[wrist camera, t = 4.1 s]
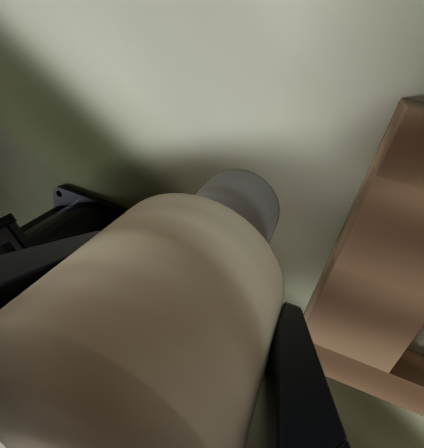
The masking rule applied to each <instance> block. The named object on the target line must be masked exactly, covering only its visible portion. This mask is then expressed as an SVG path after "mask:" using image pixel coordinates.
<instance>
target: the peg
mask: <svg viewBox="0 0 424 448" xmlns="http://www.w3.org/2000/svg"><path fill="white" fill-rule="evenodd" d="M279 212H280V209H279V202H278V199H277V196H276V194H275V192H274V190H273V189H272V187H271V186H270V185H269V184H268V182H266V181H265V180H264V179H263V178H262V177H260V176H259V175H257V174H255V173H253V172H250V171H247V170H243V169H228V170H224V171H221V172H219V173H217V174H216V175H214V176H213V177H212V178H210V179H209V180H208V181H207V182H206V183H205V184H204V185H203V186H202V187H201V188H200V189H199V190H198V191H197V192H196V193H195V194H194V195H192V194H185V193H167V194H159V195H156V196H152V197H149V198H147V199H145V200H142V201H140V202H139V203H137V204H136V205H134V206H133V207H132V208H130V209H129V210H128V211H126V212H125V213H124V214H123V215H121V216H120V217H119V218H117V219H116V220H115V221H113V222H112V223H111V224H110V225H108V226H107V227H106V228H104V229H103V230H102V231H101V232H99V233H98V234H97V235H95V236H94V237H93V238H92V239H90V240H89V241H88V242H86V243H85V244H84V245H83V246H81V247H80V248H79V249H77V250H76V251H75V252H74V253H72V254H71V255H70V256H68V257H67V258H66V259H65V260H63V261H62V262H61V263H59V264H58V265H57V266H56V267H54V268H53V269H52V270H50V271H49V272H48V273H47V274H45V275H44V276H43V277H41V278H40V279H39V280H38V281H36V282H35V283H34V284H32V285H31V286H30V287H29V288H27V289H26V290H25V291H23V292H22V293H21V294H20V295H18V296H17V297H16V298H14V299H13V300H12V301H10V302H9V303H8V304H7V305H5V306H4V307H3V308H1V309H0V442H1V443H2V444H3V445H4V446H5V447H6V448H245V444H246V440H247V437H248V433H249V429H250V425H251V421H252V418H253V414H254V410H255V406H256V403H257V399H258V395H259V391H260V388H261V384H262V380H263V376H264V373H265V369H266V365H267V361H268V357H269V354H270V350H271V346H272V342H273V339H274V335H275V331H276V327H277V324H278V320H279V316H280V312H281V309H282V305H283V299H284V281H283V277H282V272H281V269H280V266H279V263H278V260H277V258H276V256H275V254H274V253H273V251H272V249H271V247H270V246H269V242H270V239H271V237H272V234H273V232H274V229H275V227H276V225H277V222H278V219H279Z"/></svg>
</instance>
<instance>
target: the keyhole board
mask: <svg viewBox="0 0 424 448" xmlns="http://www.w3.org/2000/svg"><path fill="white" fill-rule="evenodd" d="M303 315H304V318H305V321H306V324H307V327H308V329H309V332H310V335H311V338H312V341H313V343H314V346H315V349H316V352H317V355H318V357H319V360H320V363H321V366H322V369H323V371H324V374H325V376H327V377H330V378H332V379H334V380H337V381H339V382H342V383H344V384H347V385H349V386H351V387H354V388H356V389H359V390H361V391H363V392H366V393H368V394H371V395H373V396H376V397H378V398H380V399H383V400H385V401H388V402H390V403H393V404H395V405H397V406H400V407H402V408H405V409H407V410H409V411H412V412H414V413H417V414H419V415H422V416H424V356H422V355H420V354H417V353H414V352H412V351H409V350H407V347H408V346H409V344H410V343H411V342H412V340H413V339H414V337H415V336H416V335H417V333H418V332H419V331H420V329H421V328H422V326H423V325H424V103H420V102H416V101H412V100H407V99H403V98H401V99H400V101H399V103H398V106H397V108H396V110H395V112H394V115H393V117H392V119H391V121H390V123H389V126H388V128H387V130H386V132H385V135H384V137H383V139H382V141H381V143H380V146H379V148H378V150H377V152H376V155H375V157H374V159H373V161H372V163H371V166H370V168H369V170H368V172H367V175H366V177H365V179H364V181H363V183H362V186H361V188H360V190H359V192H358V194H357V197H356V199H355V201H354V203H353V206H352V208H351V210H350V212H349V214H348V217H347V219H346V221H345V223H344V226H343V228H342V230H341V232H340V234H339V237H338V239H337V241H336V243H335V246H334V248H333V250H332V252H331V254H330V257H329V259H328V261H327V263H326V266H325V268H324V270H323V272H322V274H321V277H320V279H319V281H318V283H317V286H316V288H315V290H314V292H313V294H312V297H311V299H310V301H309V303H308V306H307V308H306V310H305V312H304V314H303Z"/></svg>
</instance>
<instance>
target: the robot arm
mask: <svg viewBox="0 0 424 448" xmlns="http://www.w3.org/2000/svg"><path fill="white" fill-rule="evenodd" d="M61 193H62V194H61ZM53 195H54V208H53V209H51V210H49V211H48V212H46V213H44V214H43V215H41V216H39V217H37V218H36V219H34V220H32V221H30V222H29V223H27V224H25V225H24V226H22V227H19V226H18V224H17V223H16V221H17V220H16V219H15V218H14V216H13V215H12V214H11V213H10V214H8V215H6V216H4V217H2V218H0V309H1V308H3V307H4V306H5V305H7V304H8V303H9V302H10V301H12V300H13V299H14V298H16V297H17V296H18V295H20V294H21V293H22V292H23V291H25V290H26V289H27V288H29V287H30V286H31V285H32V284H34V283H35V282H36V281H38V280H39V279H40V278H41V277H43V276H44V275H45V274H47V273H48V272H49V271H50V270H52V269H53V268H54V267H56V266H57V265H58V264H59V263H61V262H62V261H63V260H65V259H66V258H67V257H68V256H70V255H71V254H72V253H74V252H75V251H76V250H77V249H79V248H80V247H81V246H83V245H84V244H85V243H86V242H88V241H89V240H90V239H92V238H93V237H94V236H95V235H97V234H98V233H99V232H101V231H102V230H103V229H104V228H106V227H107V226H108V225H110V224H111V223H112V222H113V221H115V220H116V219H117V218H119V217H120V216H121V215H123V214H124V213H125V212H126V211H128V210H129V209H127V208H124V207H121V206H118V205H116V204H113V203H110V202H107V201H104V200H102V199H99V198H96V197H93V196H90V195H88V194H85V193H82V192H79V191H76V190H74V189H71V188H68V187H65V186H62V185H60V186H58V187H56V188H54V190H53ZM346 440H347V436H346V433H345V430H344V428H343V425H342V422H341V419H340V416H339V413H338V411H337V408H336V405H335V402H334V399H333V397H332V394H331V391H330V388H329V385H328V383H327V380H326V377H325V374H324V371H323V369H322V366H321V363H320V360H319V357H318V355H317V352H316V349H315V346H314V343H313V341H312V338H311V335H310V332H309V329H308V327H307V324H306V321H305V318H304V315H303V313H302V310H301V308H300V307H298V306H296V305H293V304H290V303H288V302H285V303H284V304H283V306H282V309H281V312H280V316H279V320H278V324H277V327H276V331H275V335H274V339H273V342H272V346H271V350H270V354H269V357H268V361H267V365H266V369H265V373H264V376H263V380H262V384H261V388H260V391H259V395H258V399H257V403H256V406H255V410H254V414H253V418H252V421H251V425H250V429H249V433H248V437H247V441H246V447H245V448H351V447H350V444H349V442H348V441H346Z"/></svg>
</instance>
